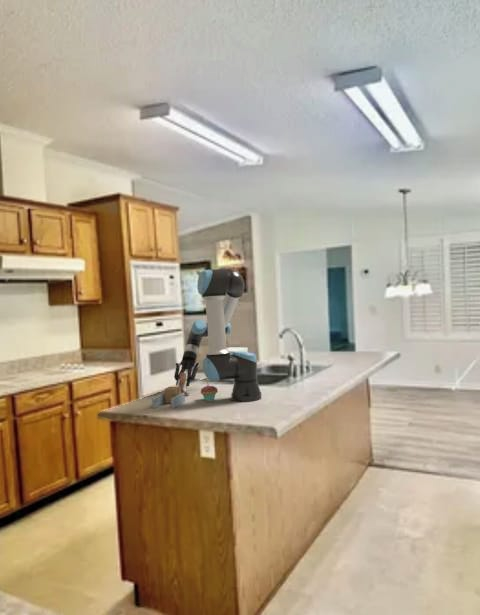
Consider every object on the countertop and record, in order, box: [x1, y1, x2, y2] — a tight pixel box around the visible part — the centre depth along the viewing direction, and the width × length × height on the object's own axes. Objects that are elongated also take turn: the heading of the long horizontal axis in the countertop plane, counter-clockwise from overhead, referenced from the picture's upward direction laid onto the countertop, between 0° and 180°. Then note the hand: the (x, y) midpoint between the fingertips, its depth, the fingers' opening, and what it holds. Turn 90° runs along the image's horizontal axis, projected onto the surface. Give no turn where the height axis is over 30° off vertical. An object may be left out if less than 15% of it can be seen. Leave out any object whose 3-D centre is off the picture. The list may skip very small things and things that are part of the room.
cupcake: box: [200, 378, 219, 402], centre depth 244 cm, size 9×8×12 cm
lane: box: [151, 392, 186, 410], centre depth 237 cm, size 14×11×4 cm
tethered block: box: [163, 372, 189, 404], centre depth 250 cm, size 20×6×12 cm, turn 165°
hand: (180, 390), depth 253 cm, fingers closed on tethered block, 3 cm apart
